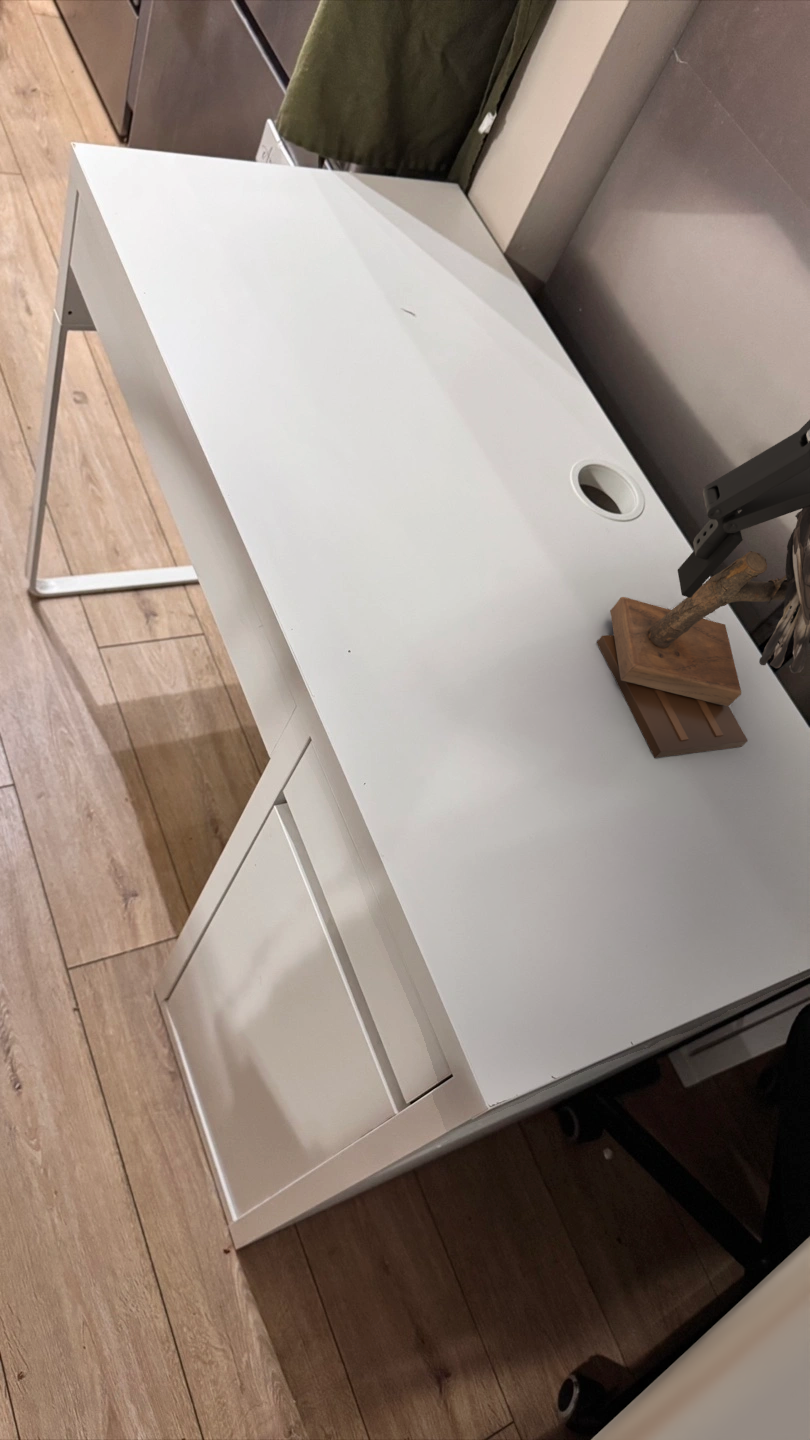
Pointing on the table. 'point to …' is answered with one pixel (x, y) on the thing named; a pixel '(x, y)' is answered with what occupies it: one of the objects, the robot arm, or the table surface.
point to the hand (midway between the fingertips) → (755, 607)
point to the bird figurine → (714, 627)
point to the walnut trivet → (675, 716)
